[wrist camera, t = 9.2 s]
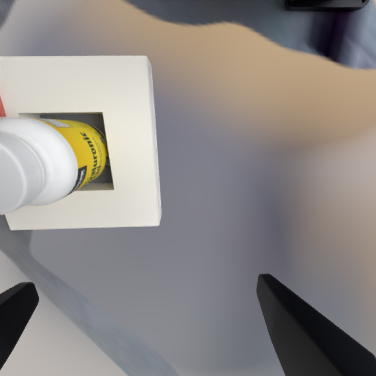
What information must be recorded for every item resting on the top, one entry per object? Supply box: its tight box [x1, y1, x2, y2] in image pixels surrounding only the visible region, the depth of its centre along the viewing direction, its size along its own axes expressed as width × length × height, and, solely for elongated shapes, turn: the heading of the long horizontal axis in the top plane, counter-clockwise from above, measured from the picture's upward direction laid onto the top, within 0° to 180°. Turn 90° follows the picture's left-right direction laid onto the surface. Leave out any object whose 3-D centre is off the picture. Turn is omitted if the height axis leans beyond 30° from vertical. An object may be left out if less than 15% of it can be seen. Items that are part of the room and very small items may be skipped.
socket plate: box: [0, 56, 161, 230], centre depth 16 cm, size 14×14×3 cm
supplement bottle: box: [0, 117, 110, 215], centre depth 13 cm, size 5×5×10 cm
